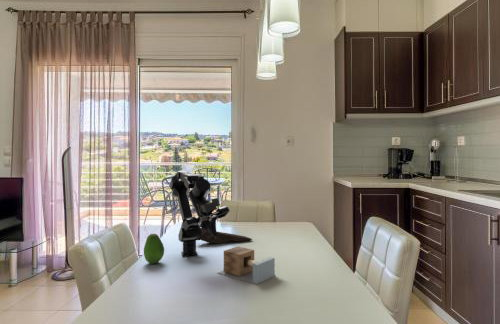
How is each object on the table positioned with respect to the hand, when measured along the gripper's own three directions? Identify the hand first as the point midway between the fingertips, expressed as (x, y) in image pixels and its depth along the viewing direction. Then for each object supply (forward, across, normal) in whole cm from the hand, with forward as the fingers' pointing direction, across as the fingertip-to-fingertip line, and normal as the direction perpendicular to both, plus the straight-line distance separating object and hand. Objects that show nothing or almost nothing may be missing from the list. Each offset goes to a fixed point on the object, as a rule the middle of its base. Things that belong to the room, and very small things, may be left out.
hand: (215, 237), depth 138 cm
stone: (-3, +19, +35) cm, 40 cm away
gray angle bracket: (+18, +2, -6) cm, 19 cm away
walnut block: (+16, +1, -3) cm, 17 cm away
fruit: (-3, -20, +19) cm, 28 cm away
